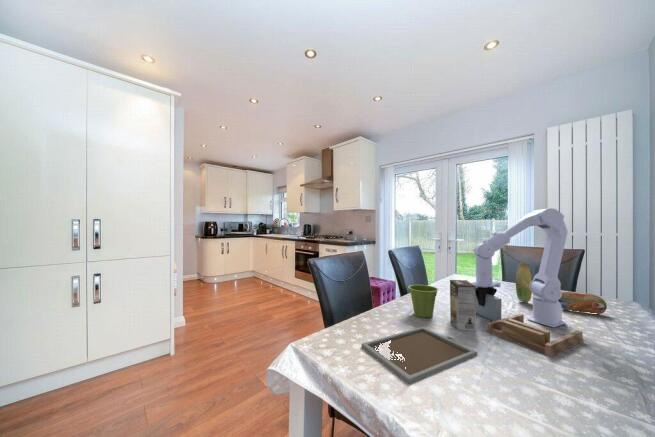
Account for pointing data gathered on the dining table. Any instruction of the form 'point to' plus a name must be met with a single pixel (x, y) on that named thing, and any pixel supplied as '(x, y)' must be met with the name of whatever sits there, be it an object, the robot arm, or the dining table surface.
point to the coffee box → (463, 304)
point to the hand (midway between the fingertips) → (484, 305)
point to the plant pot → (423, 299)
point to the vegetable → (523, 282)
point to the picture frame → (420, 353)
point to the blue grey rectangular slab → (490, 307)
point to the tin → (582, 302)
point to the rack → (549, 347)
